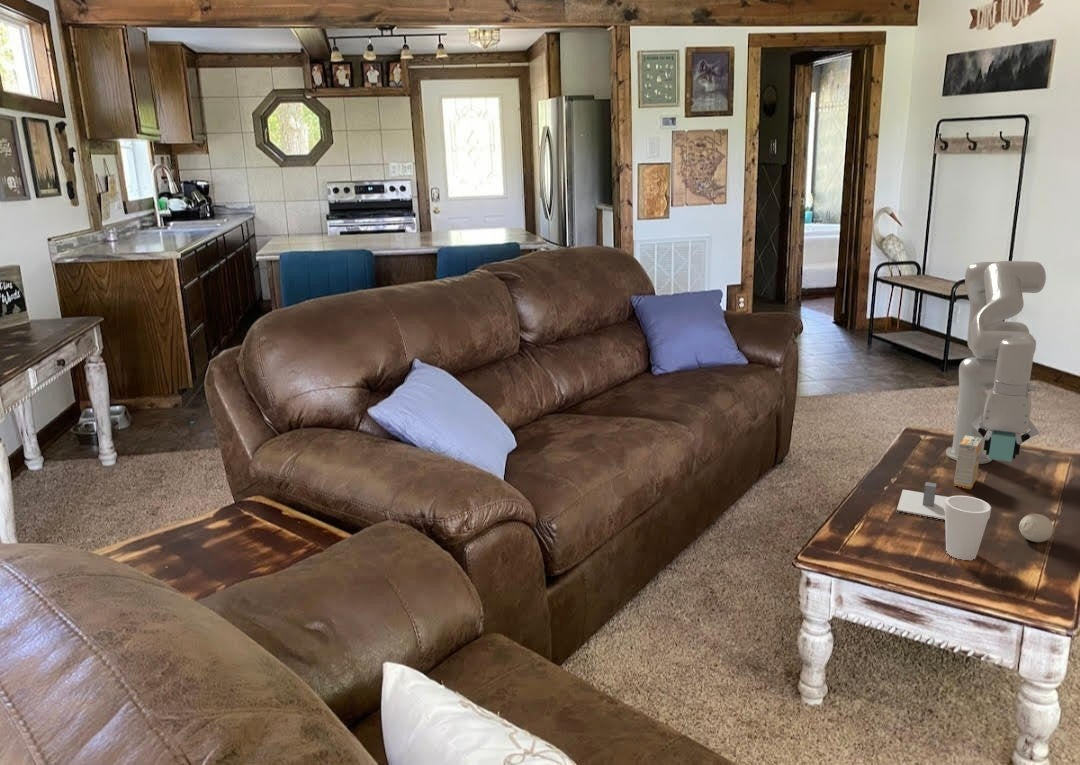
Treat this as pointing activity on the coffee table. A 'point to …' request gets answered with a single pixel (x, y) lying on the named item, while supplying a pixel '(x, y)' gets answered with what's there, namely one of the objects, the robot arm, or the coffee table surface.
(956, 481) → the supplement box
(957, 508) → the foam cup
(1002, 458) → the teal block
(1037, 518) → the off-white rounded piece
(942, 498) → the white square plate
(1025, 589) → the coffee table surface
